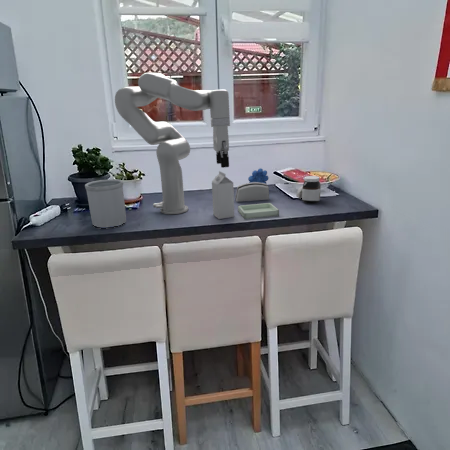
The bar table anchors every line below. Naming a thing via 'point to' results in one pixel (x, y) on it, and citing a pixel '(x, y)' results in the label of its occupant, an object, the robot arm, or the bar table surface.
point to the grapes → (258, 176)
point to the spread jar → (310, 190)
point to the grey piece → (252, 192)
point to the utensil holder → (106, 202)
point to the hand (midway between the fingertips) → (222, 165)
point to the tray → (258, 210)
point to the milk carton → (222, 196)
